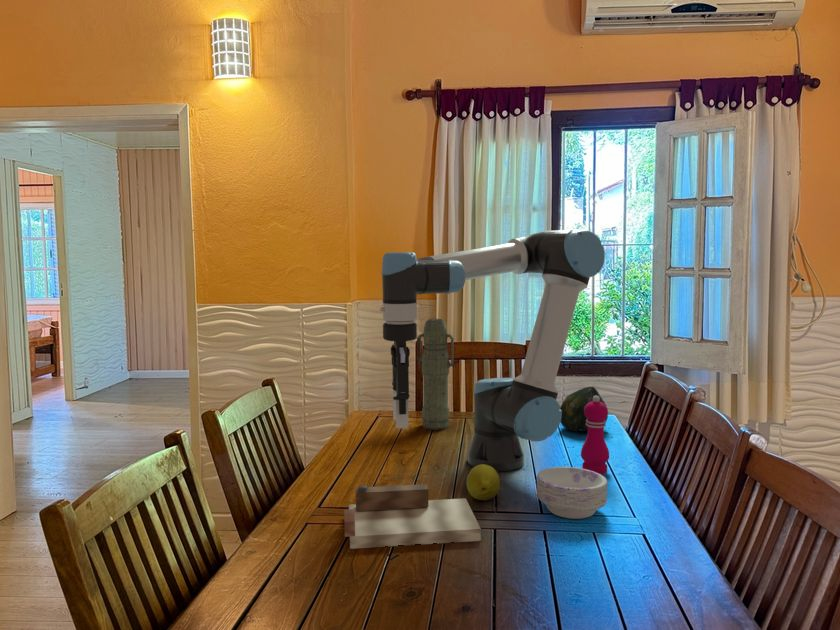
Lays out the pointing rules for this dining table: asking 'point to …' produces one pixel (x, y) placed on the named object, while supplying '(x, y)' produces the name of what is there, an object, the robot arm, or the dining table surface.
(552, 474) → the paper bowls
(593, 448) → the pepper mill
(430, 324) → the thermos
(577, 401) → the squash
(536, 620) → the dining table surface
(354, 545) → the stool seat
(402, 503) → the walnut leg
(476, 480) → the lemon
